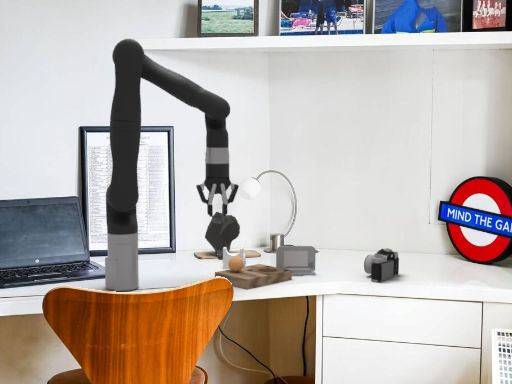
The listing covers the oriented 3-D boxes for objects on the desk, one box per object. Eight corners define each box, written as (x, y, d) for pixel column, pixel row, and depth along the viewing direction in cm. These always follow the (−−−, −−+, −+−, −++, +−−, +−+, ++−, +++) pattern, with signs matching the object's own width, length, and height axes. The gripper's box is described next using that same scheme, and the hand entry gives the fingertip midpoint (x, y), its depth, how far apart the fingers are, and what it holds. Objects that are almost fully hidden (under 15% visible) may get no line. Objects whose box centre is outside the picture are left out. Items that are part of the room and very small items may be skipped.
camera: (380, 271, 231) (381, 243, 230) (404, 275, 225) (405, 246, 224) (357, 279, 219) (357, 249, 218) (381, 283, 213) (382, 252, 212)
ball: (235, 273, 212) (235, 258, 211) (224, 271, 215) (224, 256, 215) (246, 271, 215) (246, 256, 215) (236, 269, 219) (236, 254, 218)
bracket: (243, 269, 234) (243, 248, 234) (223, 269, 235) (222, 248, 234) (245, 262, 247) (245, 242, 247) (226, 262, 248) (226, 242, 247)
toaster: (312, 270, 233) (312, 242, 232) (315, 276, 224) (315, 246, 223) (274, 270, 233) (274, 242, 232) (276, 276, 223) (276, 246, 223)
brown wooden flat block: (246, 289, 204) (246, 279, 204) (214, 281, 215) (214, 272, 214) (291, 279, 218) (291, 270, 217) (259, 272, 228) (259, 263, 228)
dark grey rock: (242, 253, 264) (242, 208, 263) (241, 261, 249) (241, 213, 247) (206, 253, 264) (206, 208, 263) (202, 260, 249) (202, 212, 247)
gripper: (196, 162, 206) (196, 218, 207) (241, 162, 209) (241, 217, 210) (193, 161, 213) (193, 215, 214) (237, 161, 216) (236, 214, 218)
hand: (217, 215), depth 212 cm, fingers open, 3 cm apart
